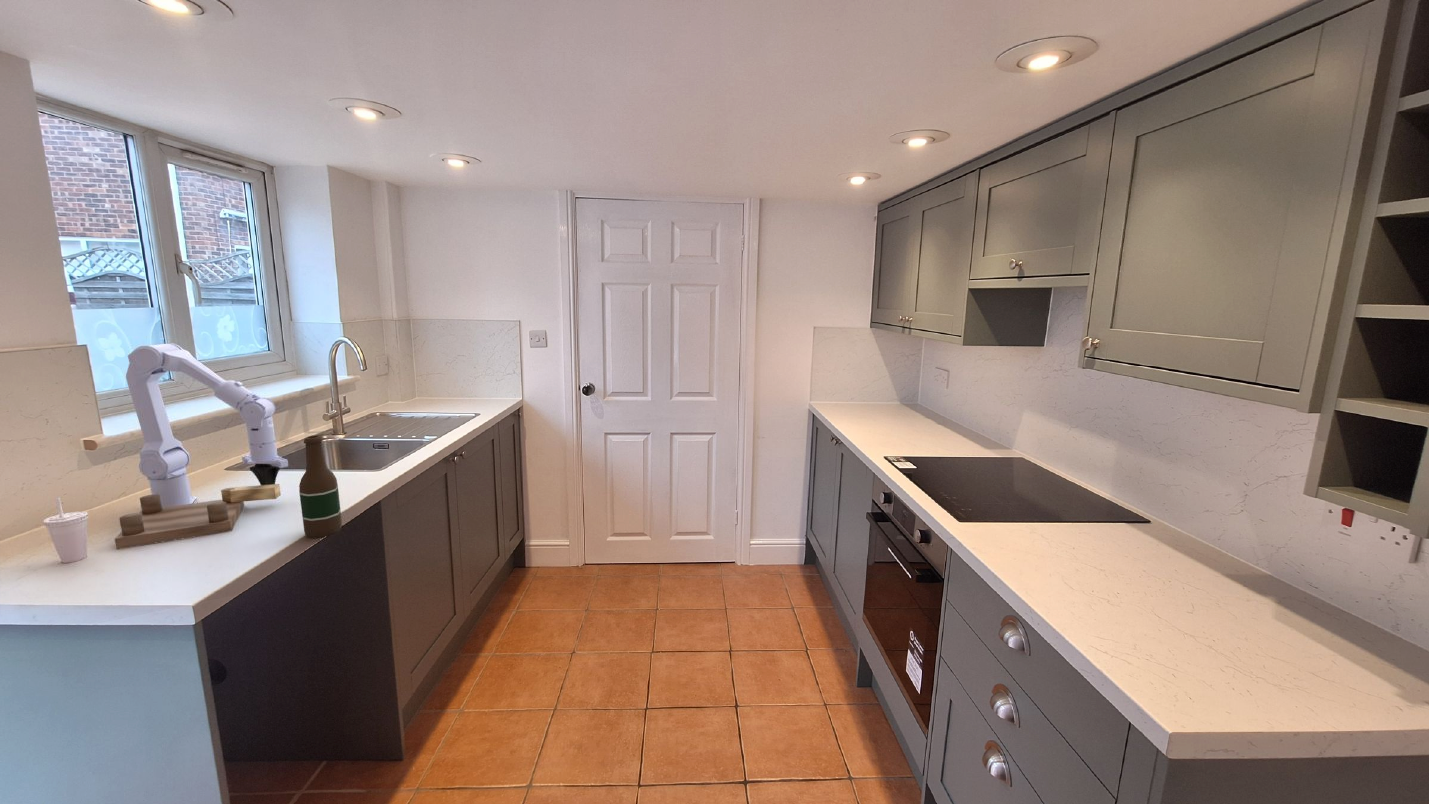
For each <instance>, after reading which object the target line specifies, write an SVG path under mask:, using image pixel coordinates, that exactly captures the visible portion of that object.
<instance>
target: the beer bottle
mask: <svg viewBox="0 0 1429 804" xmlns="http://www.w3.org/2000/svg"><path fill="white" fill-rule="evenodd" d="M323 440H324V439H323V437H322V436H321V435H310V436H306V437H304V440H303V444H305V463H306V464H305V465H306V466H305V472H304V473H303V474H302V477H301V479H300V481H299V486H298V487H299V489H298V490H299V500H300V507H301V516H302V523H303V530H304V535H305V536H306V537H309V538H313V539H316V538H325V537H329V536H332V535H335V534H337V533H340V531H341V529H342V528H343V527H342V526H343V525H342V523H343V522H342V511H341V501H340V494H339V485H338V480H337V477H336V475H335V473H334V472H333V471H331V470H330V469H329V468H328V466H327V463H326V459H325V458H326V457H325V453H324V447H323V443H322V441H323Z"/></svg>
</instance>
